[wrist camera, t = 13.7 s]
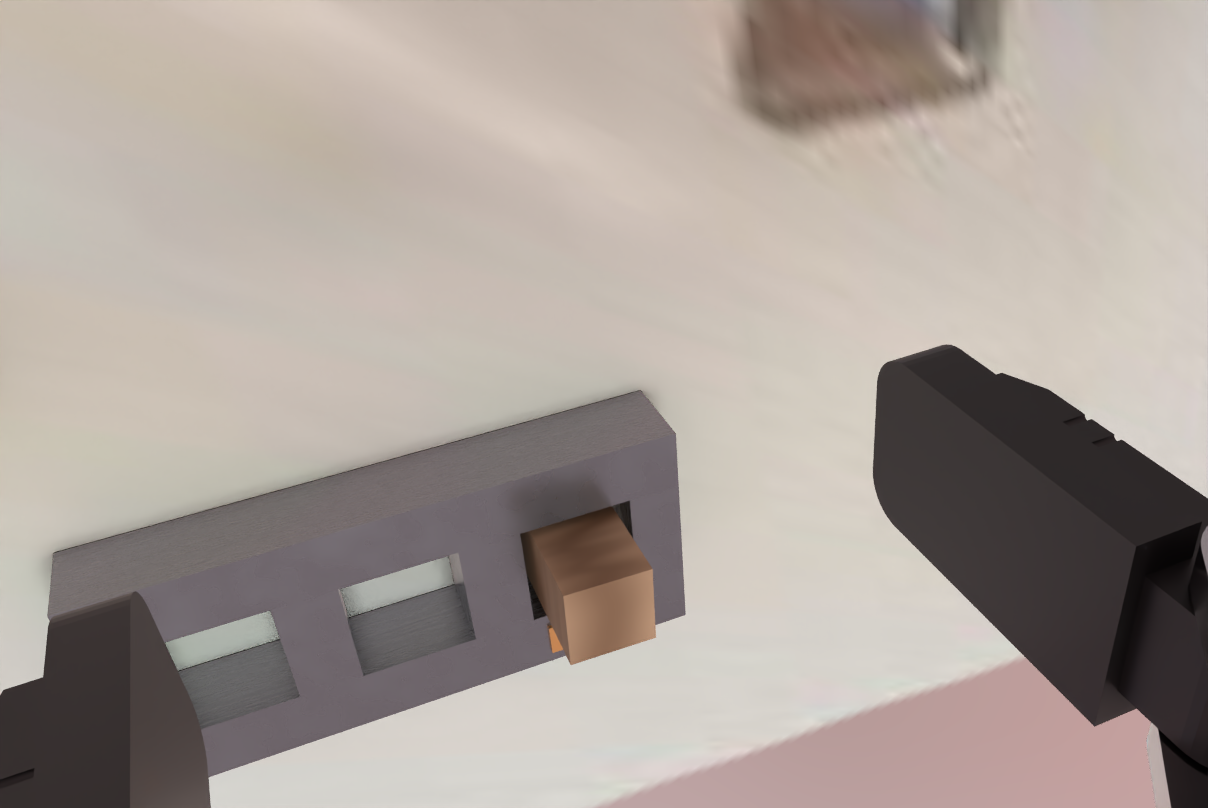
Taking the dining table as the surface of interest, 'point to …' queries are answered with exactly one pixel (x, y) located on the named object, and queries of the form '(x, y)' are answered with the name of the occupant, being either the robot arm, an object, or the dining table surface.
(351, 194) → the dining table surface
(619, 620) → the walnut peg
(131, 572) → the grey socket board
